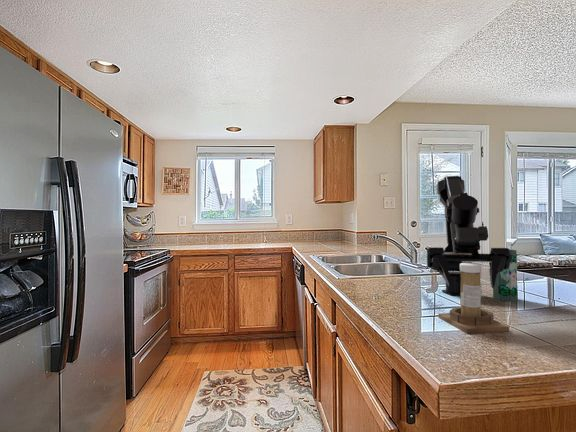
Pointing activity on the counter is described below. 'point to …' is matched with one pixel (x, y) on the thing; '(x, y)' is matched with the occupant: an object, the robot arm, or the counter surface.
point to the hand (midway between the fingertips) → (471, 286)
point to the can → (507, 282)
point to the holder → (473, 321)
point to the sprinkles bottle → (470, 289)
